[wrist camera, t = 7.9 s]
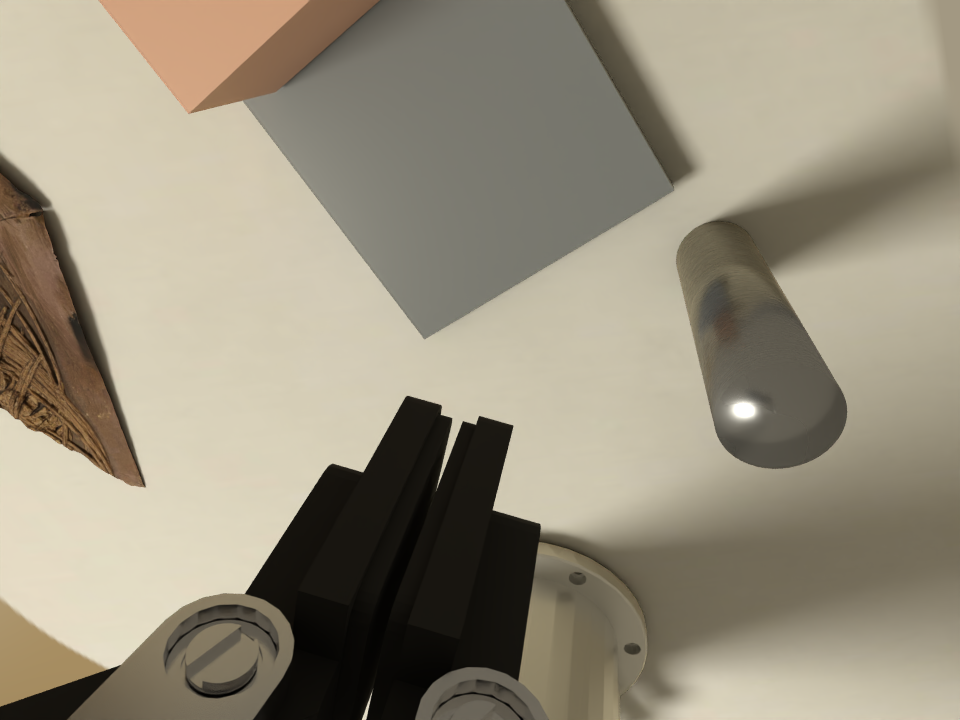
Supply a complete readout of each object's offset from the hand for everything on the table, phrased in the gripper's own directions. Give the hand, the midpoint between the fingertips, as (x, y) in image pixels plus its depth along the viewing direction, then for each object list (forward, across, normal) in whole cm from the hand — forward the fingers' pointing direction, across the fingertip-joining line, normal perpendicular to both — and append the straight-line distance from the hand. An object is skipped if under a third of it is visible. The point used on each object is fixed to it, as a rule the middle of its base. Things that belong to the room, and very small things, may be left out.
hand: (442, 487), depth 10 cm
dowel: (+19, -7, 0) cm, 20 cm away
